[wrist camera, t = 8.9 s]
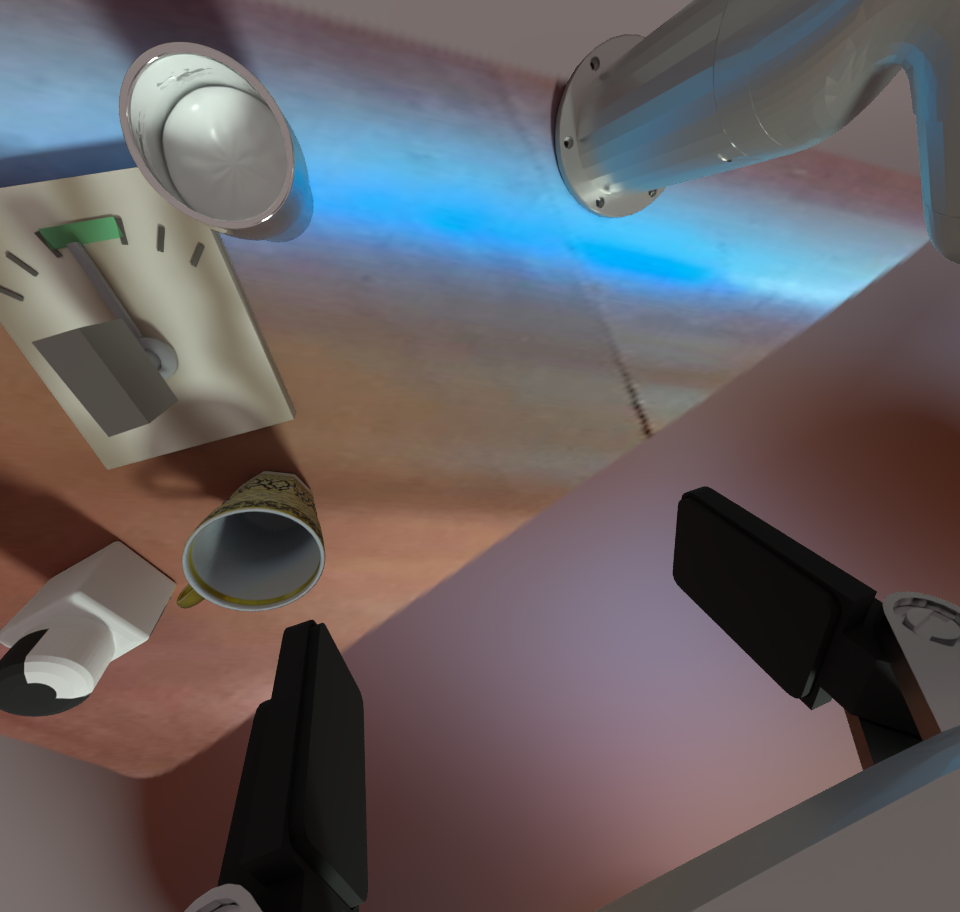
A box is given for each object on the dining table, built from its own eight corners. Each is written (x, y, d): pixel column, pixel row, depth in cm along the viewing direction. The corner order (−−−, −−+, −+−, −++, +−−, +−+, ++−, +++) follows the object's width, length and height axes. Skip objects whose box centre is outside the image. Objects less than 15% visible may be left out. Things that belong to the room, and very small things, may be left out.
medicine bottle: (116, 620, 40) (36, 743, 30) (49, 578, 37) (-68, 699, 26) (179, 584, 41) (122, 691, 30) (119, 538, 37) (30, 642, 27)
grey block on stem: (100, 236, 27) (11, 224, 20) (198, 387, 32) (155, 421, 25) (49, 250, 26) (-61, 243, 19) (157, 401, 32) (101, 439, 25)
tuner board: (190, 167, 28) (178, 159, 26) (296, 412, 37) (293, 420, 35) (-58, 205, 26) (-91, 200, 24) (119, 459, 35) (106, 470, 33)
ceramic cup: (283, 434, 38) (264, 484, 29) (349, 505, 43) (350, 566, 34) (165, 510, 37) (111, 582, 29) (246, 572, 42) (220, 650, 34)
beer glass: (194, 186, 29) (69, 117, 16) (262, 116, 28) (190, -14, 15) (277, 268, 32) (230, 267, 19) (339, 206, 32) (333, 163, 19)
